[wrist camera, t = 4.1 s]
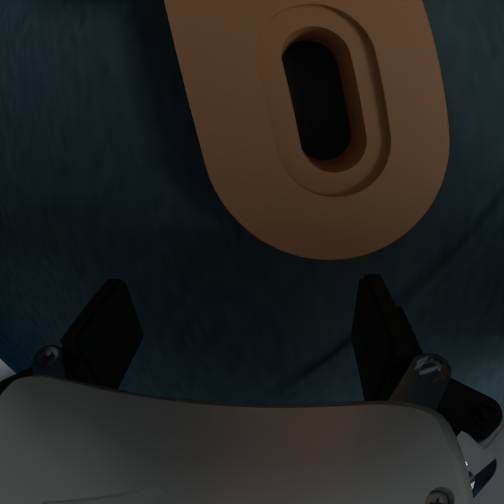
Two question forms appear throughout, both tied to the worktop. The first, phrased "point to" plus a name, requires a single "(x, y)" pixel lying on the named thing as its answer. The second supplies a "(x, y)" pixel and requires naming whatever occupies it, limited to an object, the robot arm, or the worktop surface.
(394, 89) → the bracket
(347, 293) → the worktop surface
